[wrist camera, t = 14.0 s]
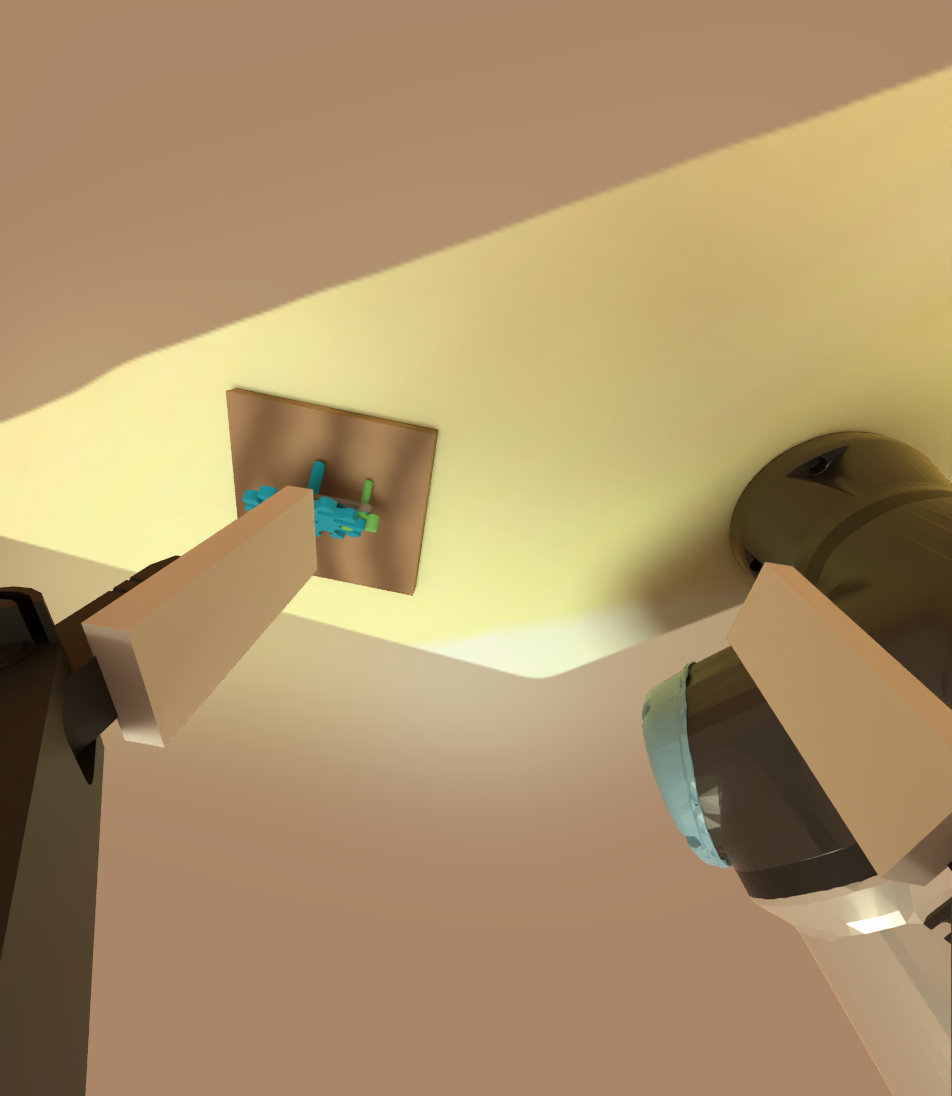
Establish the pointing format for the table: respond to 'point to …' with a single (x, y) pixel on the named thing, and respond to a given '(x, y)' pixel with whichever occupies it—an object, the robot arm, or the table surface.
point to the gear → (328, 507)
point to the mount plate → (340, 478)
